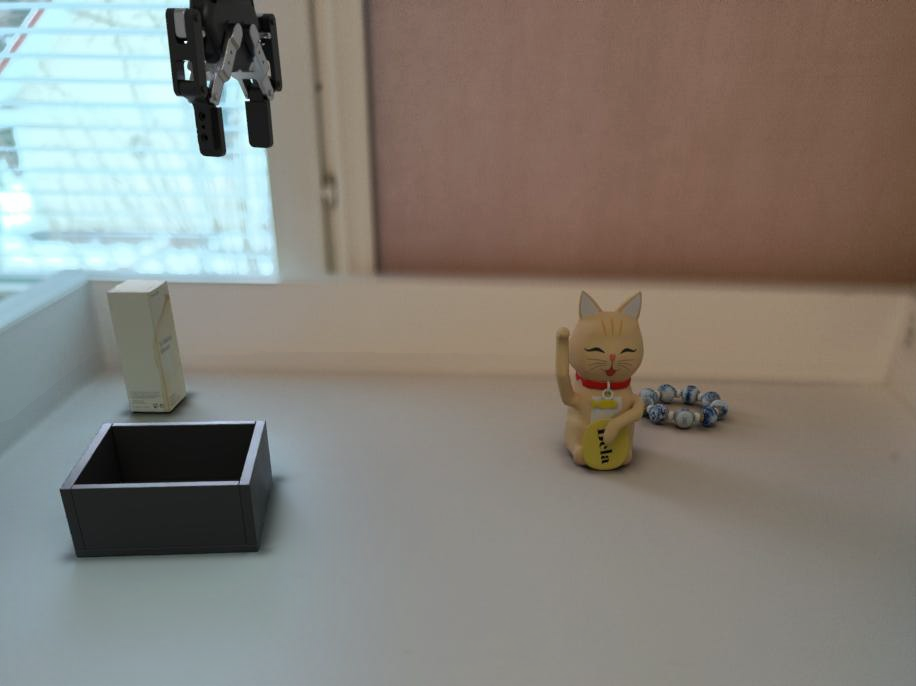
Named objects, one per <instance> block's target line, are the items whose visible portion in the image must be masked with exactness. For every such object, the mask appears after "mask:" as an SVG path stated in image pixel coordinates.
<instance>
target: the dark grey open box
mask: <svg viewBox="0 0 916 686" xmlns="http://www.w3.org/2000/svg"><path fill="white" fill-rule="evenodd" d="M272 486H273V471H272V462H271V453H270V445H269V436H268V428H267V421H266V420H226V421H225V420H224V421H223V420H222V421H218V420H217V421H216V420H215V421H163V422H162V421H161V422H157V421H156V422H114V423H112V422H103V424H102V425H101V427H99V429H98V431H97V433H95V436H94V437H93V438H92V439H91V441H90V443H89V444H88V446H87V447H86V449H85V450H84V452H83V453H82V455H81V456H80V458H79V460H78V461H77V462H76V464H75V465H74V466H73V468H72V470H71V471H70V472H69V474H68V475H67V477H66V479H65V480H64V482H62V484H61V486H60V488H59V493H60V497H61V501H62V505H63V509H64V513H65V517H66V521H67V525H68V529H69V533H70V537H71V541H72V545H73V548H74V553H75V556H76V558H85V557H116V556H117V557H118V556H119V557H120V556H147V555H148V556H149V555H151V556H152V555H154V556H155V555H179V554H180V555H182V554H183V555H184V554H186V555H187V554H213V553H216V554H218V553H244V552H246V553H247V552H249V553H250V552H259V549H260V543H261V538H262V533H263V530H264V529H263V528H264V524H265V518H266V514H267V510H268V504H269V499H270V495H271V489H272Z"/></svg>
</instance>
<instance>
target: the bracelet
mask: <svg viewBox="0 0 916 686" xmlns="http://www.w3.org/2000/svg"><path fill="white" fill-rule="evenodd" d="M638 395H639V396H641V397H642V399H643V400H644V412H643V416H647V415H648V417H649V420H650V421H651V422H653V423H655V424H662V423H665V422H666V421H667V420H668V421H671V422H672V421H674V423H675V425H676V426H677V427H678V428H681V429H687V428H689V427H691V425H692V424H693V423H694V422H695V423H699V424H701V425H702V426H703V427H710V426H713V425H714V424H716V422H717V421H718V420H721V419H723V418H725V416H727V414H728V411H729V406H728V404H727V402H726V401H725V400H722V399H721V396H720V394H719V393H717V392H716V391H708V392H705V393H703V392H701V391H700V390H699V388H698V387H697V386H695V385H686V386H684V387H683V388H682V390H681V389H679V388H677V389H676V388H675V387H674V386H673V385H671V384H667V383H663V384H661V385H659V386H658V388H657V389H656V390H654V389H653V388H651V387H646V388H644V389H642V390H641V391H640V392H639V394H638ZM675 398H676V399H679V398H681V400H682V402H684V403H685V404H688V405H693V404H695V403H697V402H700V403H701V406H702V408H701V409H700V410H699V411H698V412H693V410H691V409H690V408H688V407H682V408H680V409H678V410H676V411H673V410H671V411H670V409H669V408H668V407H667V406H666V405H665V404H667V403H670V402H672V401H673V400H674V399H675ZM657 400H658V401H659V402H661V403H657ZM662 403H663V404H662ZM664 403H665V404H664Z"/></svg>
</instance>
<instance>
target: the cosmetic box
mask: <svg viewBox="0 0 916 686" xmlns="http://www.w3.org/2000/svg"><path fill="white" fill-rule="evenodd" d="M105 294H106V298H107V303H108V307H109V314H110V318H111V322H112V327H113V328H112V329H113V332H114V335H115V337H114V338H115V342H116V347H117V353H118V357H119V361H120V366H121V371H122V375H123V380H124V385H125V390H126V396H127V400H128V405H129V409H130V411H131V412H137V413H170V412H171V411H172V410H174V409H175V407H176V406H177V405H178V404H179V403H181V402H182V400H184V399H185V397H186V396H187V389H186V383H185V377H184V372H183V365H182V359H181V354H180V349H179V343H178V336H177V332H176V326H175V325H176V324H175V320H174V314H173V307H172V304H171V297H170V290H169V285H168V281H167V280H166V279H125V280H124V281H122V282H121V283H119V284H116V285H115V286H114V287H113V288H111V289H109V290H107V291H106V292H105Z"/></svg>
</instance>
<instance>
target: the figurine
mask: <svg viewBox="0 0 916 686" xmlns="http://www.w3.org/2000/svg"><path fill="white" fill-rule="evenodd" d="M642 300H643V293H642V291H641V290H639V291H638V292H635V293H633V294H631V295H630V296H628V297H627V298H625V300H624V301H622V302H621V303H619V305H618V306H617V307H616V308H615V310H614V311H605V310H604V311H603V309H602V308H601V306H600V305H599V304H598V303H597V301H596V300H595V299H594V298H593V297H592V296H591V295H590V294H589V293H587V292H586V291H585V290H581V291H580V296H579V303H578V319H579V320H578V321H577V323H576V324H575V326H574V328H573V330H572V332H570V330H569V329H568V328H567V327H565V326H560V327H558V328H557V330H556V333H555V362H554V364H555V365H554V369H555V370H554V373H555V379H556V384H557V388H558V392H559V396H560V400H561V402H562V404H563V405H565V406H567V409H566V419H565V423H564V424H565V425H564V443H565V447H566V449H567V450H568V451H569V452H570V454H571V455H572V457H573V461H574V463H576V464H577V465H581V466H587V467H590V468H591V469H594V470H598V471H610V470H614V469H617V468H619V467H620V466H625V465H629V464H630V463H631V461H632V460H633V442H634V434H635V427H636V426H635V425H636V423H638V422H639V421H640V420H641V419H642V418H643V416H644V415H643V412H644V400H643V399H642V397H641V396H639V394H636V393H634V392H633V388H632V386H631V382H632V376H634V374H636V372H637V371H638V369H639V368H640V366H641V365H642V362H643V359H644V354H645V353H644V352H645V351H644V350H645V348H644V340H643V336H642V332H641V327H640V324H639V318H640V314H641V310H642ZM570 366H571V368H573V370H574V371H575V374H574V375H575V376H574V377H575V379H574V381H573V383H572V381H571V376H570Z"/></svg>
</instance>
